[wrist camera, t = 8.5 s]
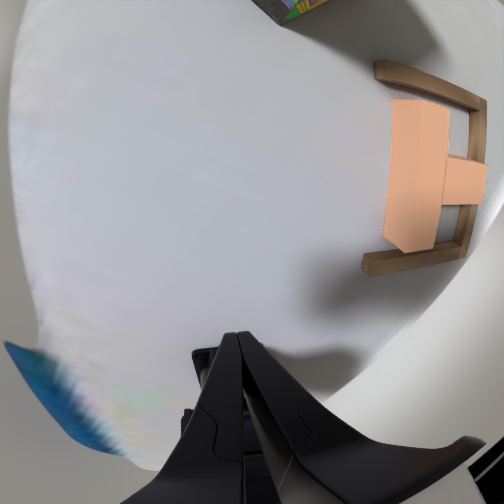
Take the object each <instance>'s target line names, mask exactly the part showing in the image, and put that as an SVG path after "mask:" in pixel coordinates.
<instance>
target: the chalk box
mask: <svg viewBox="0 0 504 504" xmlns="http://www.w3.org/2000/svg"><path fill="white" fill-rule="evenodd" d="M252 1H253V2H254V3H255V4H256V5H257V6H258V7H259V8H260V9H262V10H263V11H264V12H265V13H266V14H267V15H268V16H270V18H271V19H273V20H274V21H275V22H276V23H277V24H283V23H286V22H288V21H290V20H291V19H293V18H295V17H297V16H299V15H300V14H302V13H304V12H306V11H308V10H310V9H312V8H314V7H316V6H319V5H321V4H323V3H325V2H327V1H329V0H252Z"/></svg>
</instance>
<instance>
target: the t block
mask: <svg viewBox="0 0 504 504" xmlns="http://www.w3.org/2000/svg"><path fill="white" fill-rule="evenodd" d="M449 126H450V109H448V108H445V107H442V106H439V105H436V104H433V103H430V102H426V101H423V100H406V99H392V148H391V165H390V177H389V188H388V197H387V206H386V214H385V221H384V228H383V234H382V236H383V237H385V238H386V239H387V240H389V241H390V242H391V243H393V244H394V245H395V246H396V247H398V248H399V249H400V250H402V251H403V252H404V253H409V252H415V251H421V250H427V249H433V246H434V242H435V237H436V233H437V228H438V223H439V218H440V212H441V207H442V205H459V204H482V203H483V197H484V191H485V185H486V178H487V169H488V165H486V164H483V163H480V162H477V161H474V160H471V159H468V158H465V157H461V156H456V155H450V154H448V148H449Z"/></svg>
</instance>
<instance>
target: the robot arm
mask: <svg viewBox="0 0 504 504" xmlns="http://www.w3.org/2000/svg"><path fill="white" fill-rule="evenodd" d="M192 360H193V363H194V367H195V370H196V373H197V377H198V380H199V383H200V387H201V394H200V396H199V399H198V402H197V405H196V406H195V409H192V410H191V409H184V416H182V419H181V437H180V440H179V442H178V443H177V445H176V447H175V448H174V450H173V451H172V453H171V455H170V456H169V458H168V460H167V461H166V463H165V464H164V466H163V468H162V469H161V471H160V472H159V473H158V475H157V476H156V477H155V478H154V479H153V480H152V481H151V482H150V483H148V484H147V485H146V486H144V487H143V488H141V489H140V490H139V491H137V492H136V493H134V494H133V495H132V496H130V497H129V498H128V499H126V500H124V501H123V502H121V503H120V504H504V436H503V437H502V438H501V439H500V440H499V441H498V442H497V443H495V444H494V445H493V446H492V447H491V448H490V449H489V450H488V451H486V452H485V453H484V454H483V455H482V456H480V457H479V458H478V459H477V460H476V461H474V462H473V463H472V464H471V465H470V466H469V467H467V465H466V464H465V461H466V460H467V459H469V458H470V457H471V456H473V455H474V454H475V453H476V452H477V451H478V450H480V449H481V448H482V447H483V446H484V445H485V444H486V442H484V441H483V440H481V439H479V438H476V437H471V436H463V437H461V438H460V439H458V440H457V441H455V442H454V443H453V444H451V445H449V446H447V447H443V448H438V449H425V448H415V447H406V446H398V445H391V444H385V443H380V442H377V441H374V440H372V439H369V438H368V437H366V436H365V435H363V434H361V433H360V432H358V431H357V430H356V429H354V428H353V427H351V426H350V425H348V424H347V423H345V422H344V421H343V420H341V419H340V418H338V417H337V416H335V415H334V414H333V413H331V412H330V411H329V410H328V409H326V408H325V407H324V406H323V405H322V404H321V403H319V402H318V401H317V400H316V399H315V398H314V397H313V396H312V395H311V394H310V393H309V392H308V391H306V389H305V388H304V387H303V386H302V385H301V384H300V383H299V382H298V381H297V380H296V379H295V378H294V377H293V376H292V375H291V374H290V373H289V372H288V371H287V370H286V369H285V368H284V367H283V366H282V365H281V364H280V363H279V362H278V361H277V360H276V359H275V358H274V357H273V356H272V355H271V354H270V353H269V352H268V351H267V350H266V349H265V348H264V347H263V346H262V345H261V344H260V342H259V341H258V340H257V339H256V338H255V337H254V336H253V335H252V334H251V333H250V332H249V331H241V332H237V333H236V332H230V333H225V334H224V335H223V338H222V341H221V343H220V346H219V348H213V349H203V350H194V351H193V352H192Z"/></svg>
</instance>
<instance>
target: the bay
mask: <svg viewBox="0 0 504 504" xmlns="http://www.w3.org/2000/svg"><path fill="white" fill-rule="evenodd" d="M374 68H375V79H377V80H381V81H385V82H389V83H393V84H397V85H401V86H405V87H408V88H412V89H415V90H419V91H422V92H425V93H428V94H431V95H434V96H437V97H440V98H443V99H445V100H448V101H451V102H453V103H456V104H458V105H461V106H463V107H466V108H468V109H470V124H469V145H468V159H471V160H474V161H477V162H480V163H483V164H484V160H485V149H486V130H487V101H486V100H484V99H483V98H481V97H479V96H477V95H475V94H473V93H471V92H469V91H467V90H465V89H463V88H461V87H459V86H456V85H454V84H452V83H450V82H447V81H445V80H443V79H440V78H438V77H435V76H433V75H430V74H427V73H425V72H422V71H419V70H416V69H414V68H411V67H408V66H405V65H401V64H398V63H395V62H392V61H388V60H381V61H377V62H374ZM477 208H478V204H461V208H460V213H459V218H458V223H457V227H456V232H455V236H454V240H453V241H451V242H444V243H437V244H434V246H433V249H427V250H421V251H415V252H409V253H404V252H403V251H402V250H400V249H395V250H388V251H381V252H373V253H366V254H364V256H363V262H362V269H363V271H364V272H365V273H366V274H367V275H368V276H369V277H371V276H377V275H382V274H387V273H393V272H398V271H403V270H408V269H413V268H418V267H423V266H428V265H433V264H437V263H442V262H447V261H451V260H456V259H460V258H464V257H465V256H466V253H467V250H468V246H469V242H470V238H471V235H472V231H473V226H474V222H475V217H476V213H477Z"/></svg>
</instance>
